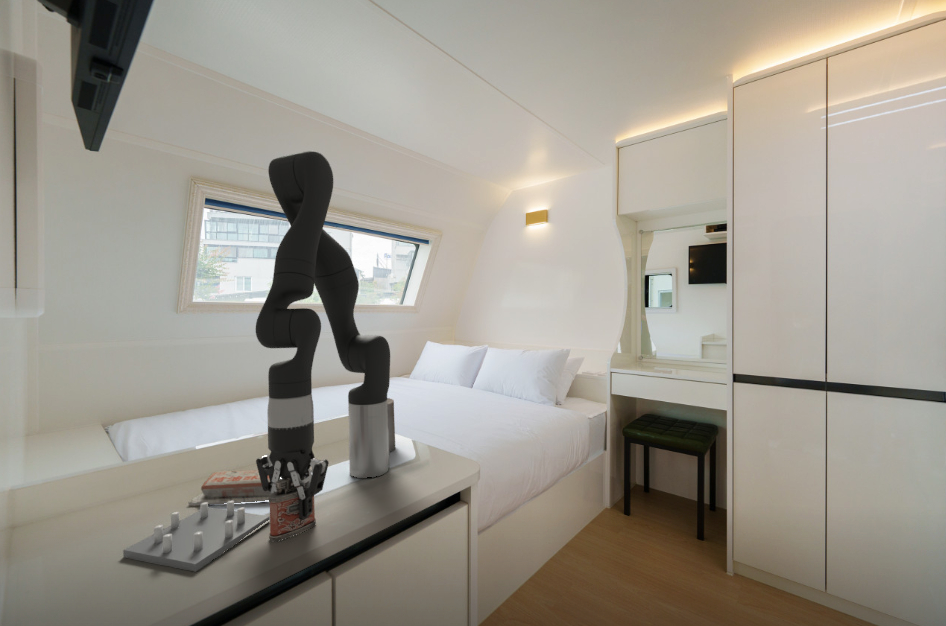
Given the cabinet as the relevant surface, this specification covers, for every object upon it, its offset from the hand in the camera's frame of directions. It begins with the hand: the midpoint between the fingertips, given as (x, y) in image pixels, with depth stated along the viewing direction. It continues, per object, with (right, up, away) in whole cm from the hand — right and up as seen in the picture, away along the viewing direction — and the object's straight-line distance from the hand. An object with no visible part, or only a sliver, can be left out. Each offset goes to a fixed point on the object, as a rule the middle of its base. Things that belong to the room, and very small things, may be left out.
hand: (292, 515), depth 74 cm
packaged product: (-17, -4, +16) cm, 24 cm away
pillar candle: (+5, -3, +43) cm, 44 cm away
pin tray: (-15, -3, -2) cm, 15 cm away
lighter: (0, -3, 0) cm, 3 cm away
